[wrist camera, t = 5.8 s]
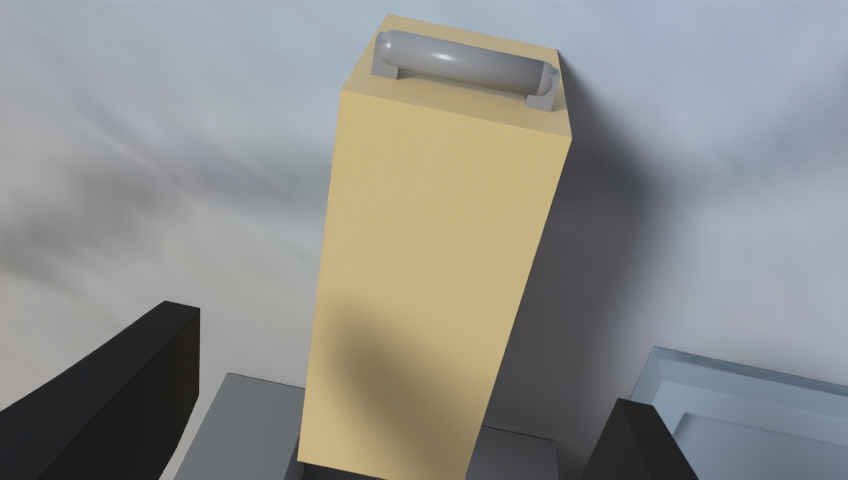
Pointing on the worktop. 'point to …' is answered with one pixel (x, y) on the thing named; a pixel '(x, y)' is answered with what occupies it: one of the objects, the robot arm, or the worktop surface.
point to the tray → (747, 418)
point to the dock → (280, 434)
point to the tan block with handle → (427, 244)
